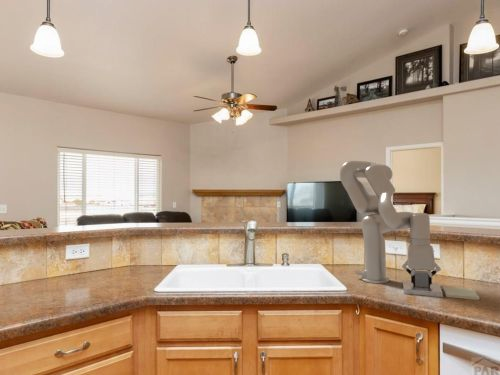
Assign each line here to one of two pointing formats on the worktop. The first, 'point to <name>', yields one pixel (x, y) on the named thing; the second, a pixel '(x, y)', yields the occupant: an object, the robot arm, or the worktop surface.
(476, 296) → the board
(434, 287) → the socket plate
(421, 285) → the block
